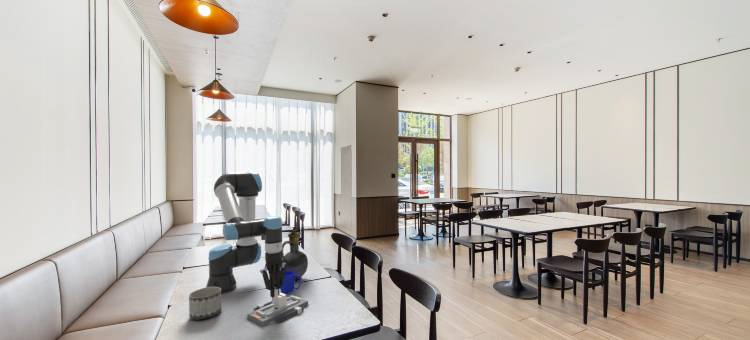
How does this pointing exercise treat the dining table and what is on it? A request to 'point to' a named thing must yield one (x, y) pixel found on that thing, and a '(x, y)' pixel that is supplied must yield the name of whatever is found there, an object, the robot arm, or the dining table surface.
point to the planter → (205, 303)
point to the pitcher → (295, 256)
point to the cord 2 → (290, 314)
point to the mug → (289, 282)
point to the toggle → (281, 300)
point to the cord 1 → (262, 305)
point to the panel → (275, 311)
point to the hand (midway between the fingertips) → (275, 303)
